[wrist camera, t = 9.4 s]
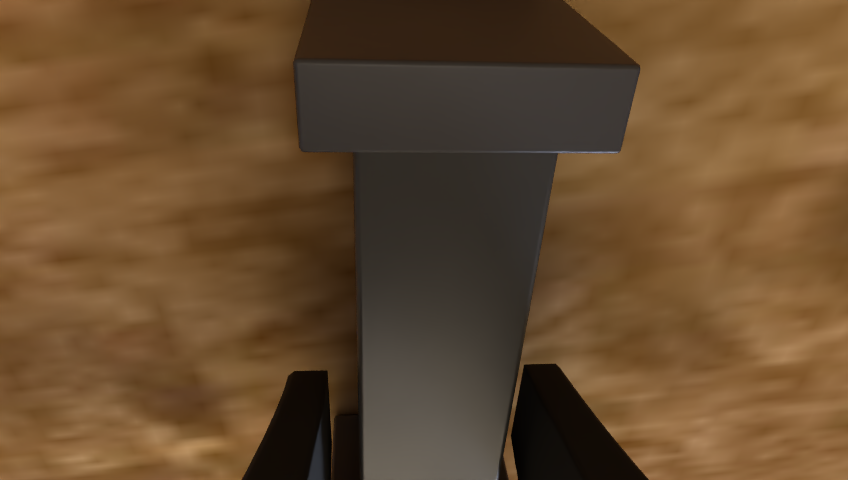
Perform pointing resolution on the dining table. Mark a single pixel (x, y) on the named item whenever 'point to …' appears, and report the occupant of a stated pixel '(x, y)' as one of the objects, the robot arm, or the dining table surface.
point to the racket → (449, 204)
